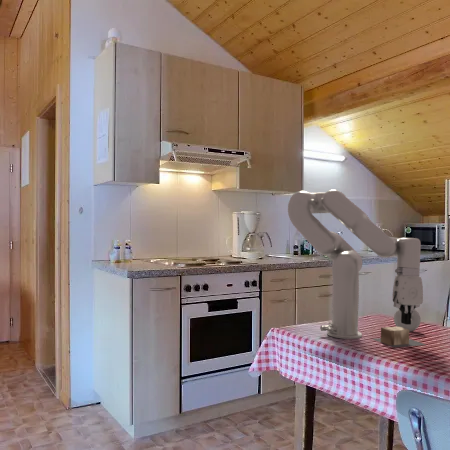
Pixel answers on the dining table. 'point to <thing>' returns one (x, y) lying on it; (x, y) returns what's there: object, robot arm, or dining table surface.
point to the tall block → (395, 335)
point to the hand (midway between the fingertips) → (406, 323)
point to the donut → (414, 322)
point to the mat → (411, 343)
